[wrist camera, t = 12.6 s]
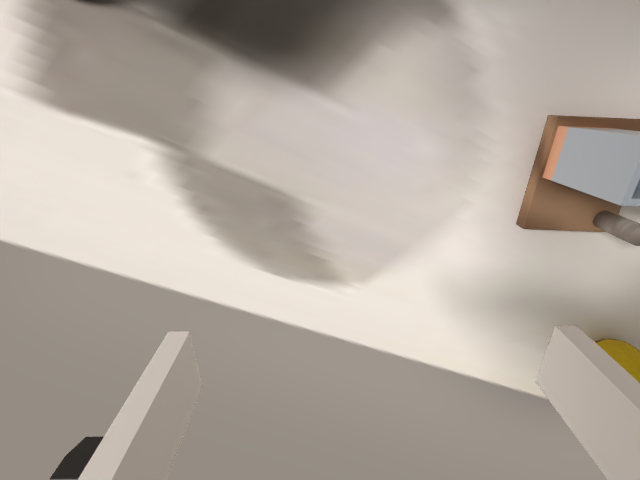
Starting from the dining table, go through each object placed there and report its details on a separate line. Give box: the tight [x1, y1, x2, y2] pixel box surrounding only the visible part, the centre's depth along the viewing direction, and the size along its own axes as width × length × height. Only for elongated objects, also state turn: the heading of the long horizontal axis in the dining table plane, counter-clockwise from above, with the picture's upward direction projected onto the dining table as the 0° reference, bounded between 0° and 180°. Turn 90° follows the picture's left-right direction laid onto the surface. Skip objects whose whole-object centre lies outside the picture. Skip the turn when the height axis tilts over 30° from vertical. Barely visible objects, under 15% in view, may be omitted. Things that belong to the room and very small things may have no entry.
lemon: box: [596, 339, 640, 383], centre depth 42 cm, size 6×6×8 cm
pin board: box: [516, 115, 640, 246], centre depth 34 cm, size 12×10×6 cm
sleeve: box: [543, 126, 640, 206], centre depth 30 cm, size 5×5×10 cm
